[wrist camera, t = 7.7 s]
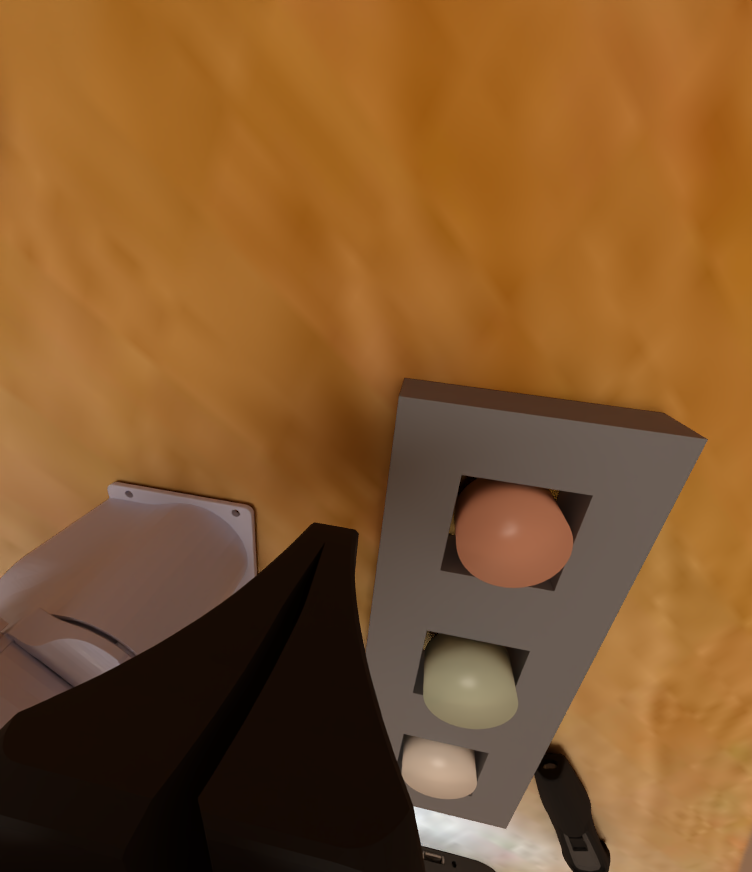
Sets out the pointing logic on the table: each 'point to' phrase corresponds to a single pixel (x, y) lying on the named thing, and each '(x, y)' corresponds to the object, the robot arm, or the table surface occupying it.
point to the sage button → (468, 682)
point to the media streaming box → (450, 862)
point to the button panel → (499, 606)
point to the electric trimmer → (571, 815)
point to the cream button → (438, 768)
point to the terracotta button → (511, 533)
